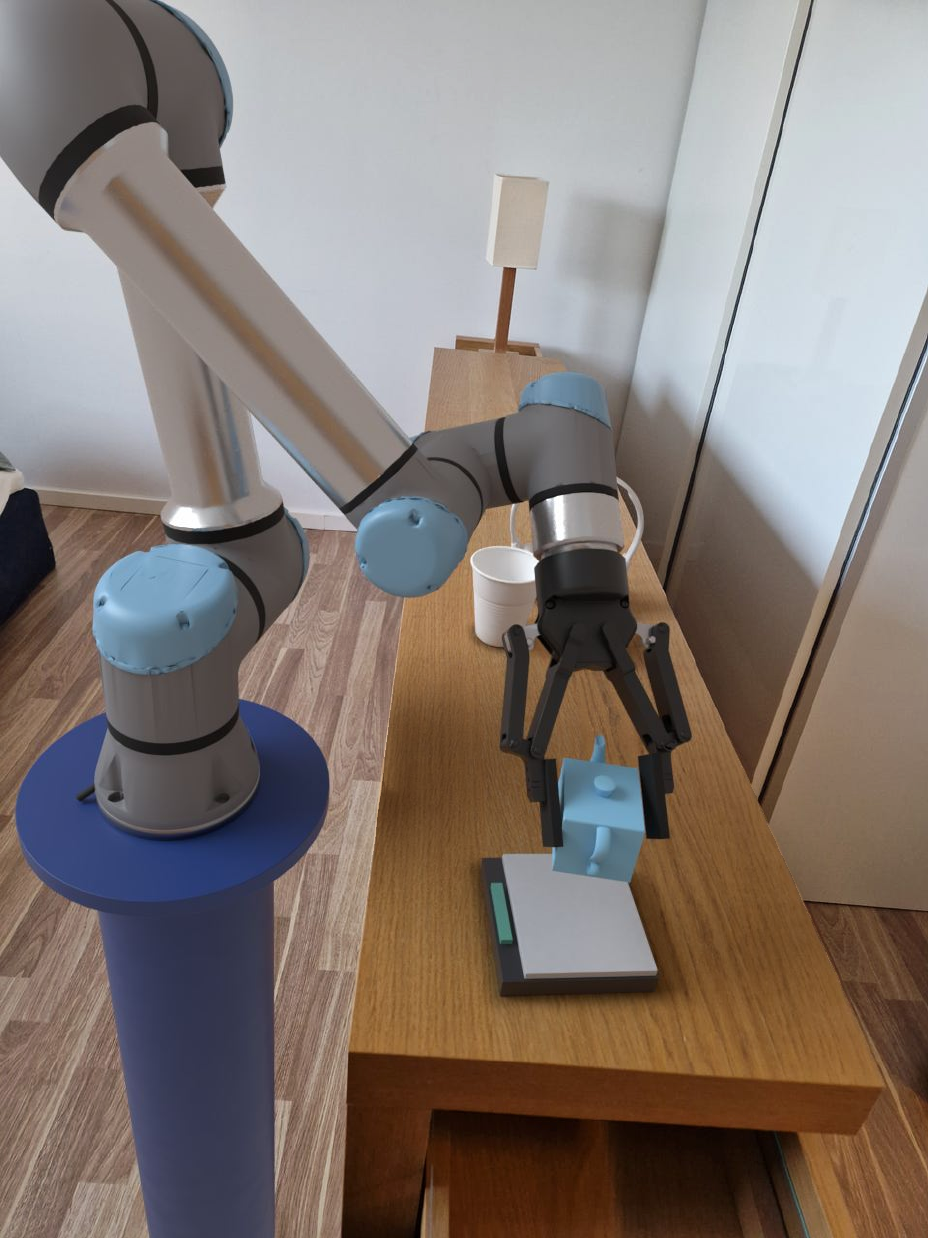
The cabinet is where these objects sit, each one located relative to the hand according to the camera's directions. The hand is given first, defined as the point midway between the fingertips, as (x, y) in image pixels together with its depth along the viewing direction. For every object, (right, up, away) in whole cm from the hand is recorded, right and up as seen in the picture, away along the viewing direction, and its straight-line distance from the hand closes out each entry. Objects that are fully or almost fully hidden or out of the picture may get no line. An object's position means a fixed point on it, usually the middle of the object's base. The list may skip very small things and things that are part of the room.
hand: (606, 842), depth 67 cm
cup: (-6, +15, +49) cm, 52 cm away
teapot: (-1, -1, +5) cm, 5 cm away
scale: (-2, -10, +9) cm, 14 cm away
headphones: (+3, +20, +60) cm, 63 cm away
